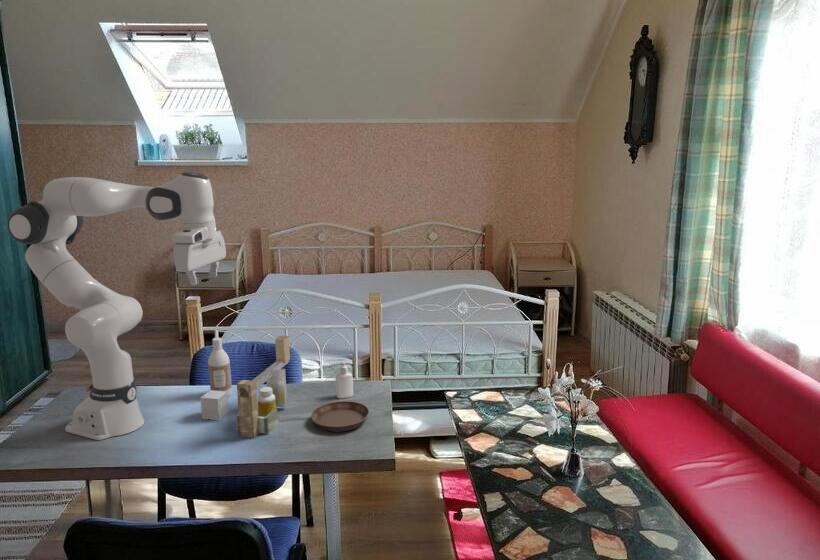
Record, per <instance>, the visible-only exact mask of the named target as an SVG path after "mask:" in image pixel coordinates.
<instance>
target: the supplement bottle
mask: <svg viewBox="0 0 820 560" xmlns="http://www.w3.org/2000/svg"><path fill="white" fill-rule="evenodd" d="M258 389H259V390H258V391H259V392H258V394H259V395H257V408H258V416H261V417H266V416H267V415H268V414H269V413H270V412H271V411H272V410H273V409H277V407H276V401H275V395H274V394H272V393H273V391H272V388H271V387H267V386H263V387H259V388H258Z"/></svg>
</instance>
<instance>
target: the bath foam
mask: <svg viewBox="0 0 820 560" xmlns="http://www.w3.org/2000/svg"><path fill="white" fill-rule="evenodd" d="M212 348H213V350H212V351H211V352H210V354H209V357H208V360H207V362H208V363H207V367H208V376H209V377H208V378H209V388H210V389H209V390H213V391H226V392H227V397H230V396H231V395H232V393H233V388H232V374H231V363H230V357H229V355H228V354H227V352H226V351H225V350H224V349H223V341H222V337H213V338H212Z"/></svg>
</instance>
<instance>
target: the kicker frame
mask: <svg viewBox="0 0 820 560" xmlns="http://www.w3.org/2000/svg"><path fill="white" fill-rule="evenodd" d="M244 388H247V389H248V391H249V393H245V390H244ZM236 390H237V391H236V392H237V394H236V395H237V404H238V405H237V406H238V407H237V408H238V413H237V414H236V416H235V417H236V418H235V420H236V431H237V432H240V437H242V438H249V439H250V437H251V439H256V438H257V437H258V435H260V433H264V434H263V435H269V434H270V433H271V432H272V431H273V430H274V429H275V428H276V427H277V426H278V425H279V415H278V408H276V409H273V410H272V411H271V412H270V413H269V414H268V415H267V416H266V417H261V416H259V413H258V395H257V389H256V381H252V380H247V379H241V380H239V382H236ZM277 424H278V425H277ZM276 425H277V426H276ZM275 426H276V427H275ZM274 427H275V428H274ZM273 428H274V429H273ZM272 429H273V430H272ZM271 430H272V431H271ZM270 431H271V432H270ZM269 432H270V433H269Z"/></svg>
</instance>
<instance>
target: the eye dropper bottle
mask: <svg viewBox="0 0 820 560" xmlns="http://www.w3.org/2000/svg"><path fill="white" fill-rule="evenodd" d="M339 368H340V369H339V370H340V371H339V373H337V374H336V375H335V392H336V393H335V394H336V395H335V396H336V398H338V399H348V398H351V397H353V396H354V378H353V374H352V373H351V372H350V371H348V370H349V369H348V365H346V363H345V362H342V365H340V367H339Z"/></svg>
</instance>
